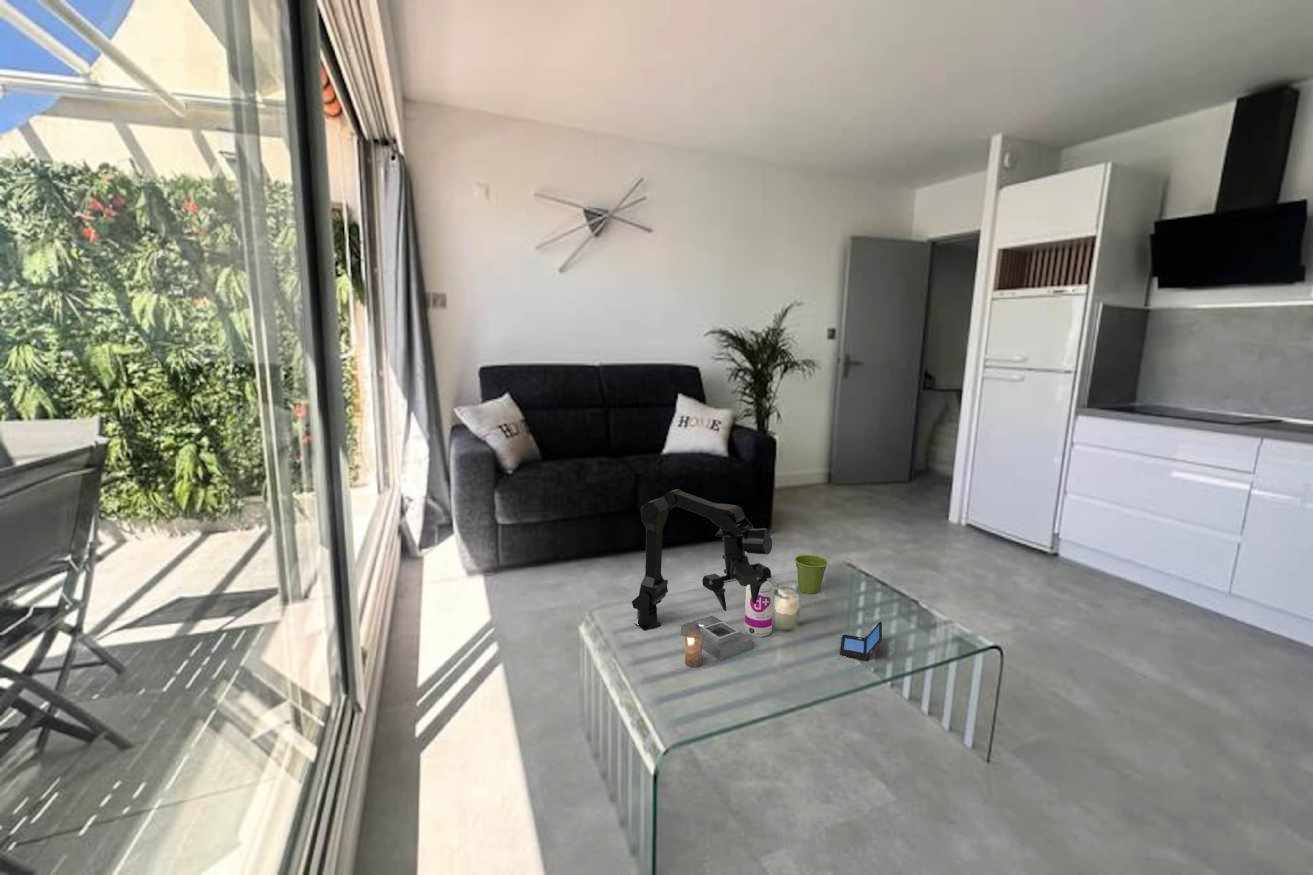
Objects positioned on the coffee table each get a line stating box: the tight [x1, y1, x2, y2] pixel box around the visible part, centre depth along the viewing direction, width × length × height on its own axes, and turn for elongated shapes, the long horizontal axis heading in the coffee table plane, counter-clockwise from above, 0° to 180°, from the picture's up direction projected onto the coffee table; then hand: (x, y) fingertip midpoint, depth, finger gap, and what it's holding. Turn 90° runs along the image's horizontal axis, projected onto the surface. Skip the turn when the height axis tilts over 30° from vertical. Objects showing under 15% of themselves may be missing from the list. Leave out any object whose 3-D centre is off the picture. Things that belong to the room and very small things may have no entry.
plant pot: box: [793, 554, 829, 595], centre depth 207 cm, size 12×12×11 cm
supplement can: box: [743, 580, 775, 638], centre depth 175 cm, size 8×8×15 cm
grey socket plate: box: [680, 615, 754, 661], centre depth 169 cm, size 18×12×4 cm, turn 34°
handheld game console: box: [839, 621, 883, 662], centre depth 165 cm, size 12×11×7 cm
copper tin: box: [684, 632, 703, 669], centre depth 156 cm, size 4×4×8 cm
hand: (739, 607), depth 161 cm, fingers open, 9 cm apart
